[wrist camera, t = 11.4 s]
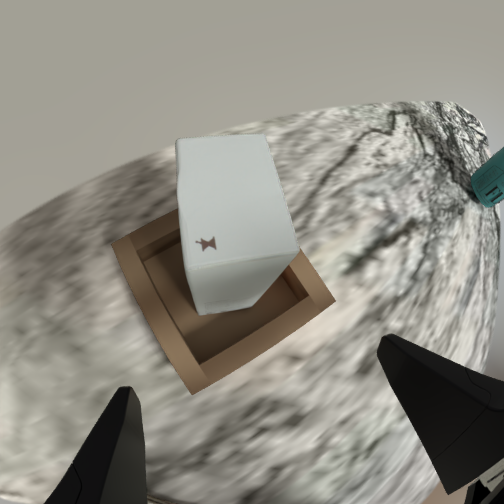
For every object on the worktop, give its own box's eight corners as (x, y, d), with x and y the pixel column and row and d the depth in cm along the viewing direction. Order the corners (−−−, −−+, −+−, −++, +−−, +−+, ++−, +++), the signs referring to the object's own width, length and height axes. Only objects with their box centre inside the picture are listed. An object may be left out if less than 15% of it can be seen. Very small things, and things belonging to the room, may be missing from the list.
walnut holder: (318, 308, 22) (335, 301, 19) (195, 387, 19) (192, 395, 16) (242, 197, 25) (247, 175, 22) (124, 259, 21) (111, 244, 18)
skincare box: (253, 308, 21) (304, 256, 10) (197, 316, 20) (180, 274, 9) (239, 235, 23) (267, 130, 11) (187, 241, 22) (171, 136, 11)
